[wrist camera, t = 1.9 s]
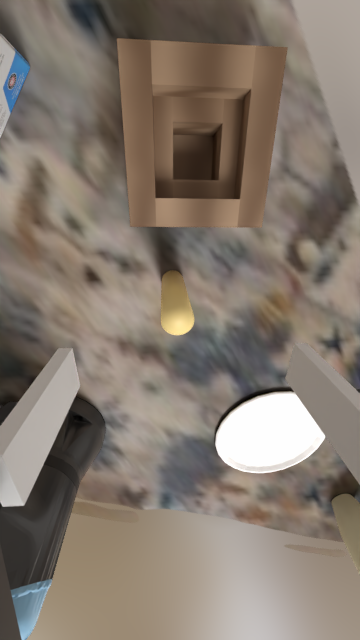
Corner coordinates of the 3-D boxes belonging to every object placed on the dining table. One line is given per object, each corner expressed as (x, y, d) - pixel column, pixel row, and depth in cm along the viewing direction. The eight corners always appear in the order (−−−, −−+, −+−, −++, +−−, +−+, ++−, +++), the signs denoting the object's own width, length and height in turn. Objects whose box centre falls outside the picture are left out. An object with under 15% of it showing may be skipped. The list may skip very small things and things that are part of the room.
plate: (198, 412, 42) (199, 418, 40) (316, 370, 39) (321, 375, 38) (232, 479, 50) (234, 485, 49) (331, 448, 48) (335, 453, 47)
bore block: (137, 222, 28) (130, 226, 21) (129, 85, 23) (116, 38, 16) (239, 223, 29) (261, 227, 22) (253, 90, 23) (287, 47, 17)
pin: (161, 291, 32) (161, 335, 21) (161, 270, 30) (160, 305, 19) (183, 291, 32) (193, 334, 21) (183, 270, 30) (194, 304, 20)
